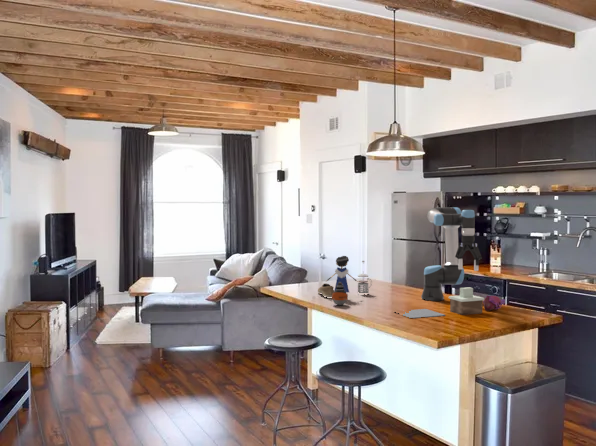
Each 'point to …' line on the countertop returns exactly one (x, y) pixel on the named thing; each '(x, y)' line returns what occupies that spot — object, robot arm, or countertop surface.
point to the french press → (365, 285)
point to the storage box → (466, 307)
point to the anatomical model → (492, 303)
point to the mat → (422, 313)
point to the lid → (466, 295)
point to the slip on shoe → (326, 290)
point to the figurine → (342, 272)
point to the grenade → (340, 294)
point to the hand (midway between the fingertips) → (468, 270)
